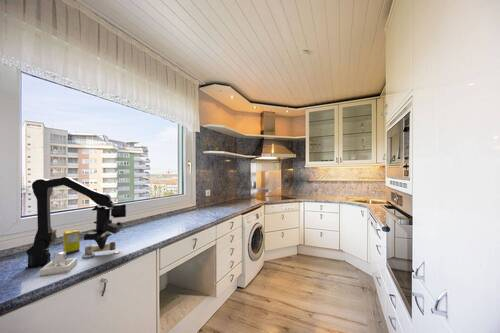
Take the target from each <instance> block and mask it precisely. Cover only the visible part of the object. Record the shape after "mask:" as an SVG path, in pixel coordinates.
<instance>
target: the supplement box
mask: <svg viewBox="0 0 500 333" xmlns="http://www.w3.org/2000/svg"><path fill="white" fill-rule="evenodd" d="M80 233H81V231H80V230H79V229H71V230H70V229H69V230H66V231H63V240H62V241H63V247H62V248H63V250H62V252H63V251H65V252H66V255H67V254H72V253H75V252H80Z"/></svg>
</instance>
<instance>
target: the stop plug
mask: <svg viewBox="0 0 500 333" xmlns="http://www.w3.org/2000/svg"><path fill="white" fill-rule="evenodd" d="M66 259H67V254H66V252H65V251H63V250H62V251H58V252H55V253H54V254H53V261H54V267H60V266H66Z"/></svg>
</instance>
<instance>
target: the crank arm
mask: <svg viewBox="0 0 500 333" xmlns="http://www.w3.org/2000/svg"><path fill="white" fill-rule="evenodd" d="M105 251H116V242H115V241H112V242H109V243H105V246H104V248H103V249H102V250H101V249H100V248H99V246H98V244H94V245H91V244H90V245H85V247H84V254H85V255H88V254H92V252H94V253H96V252H105Z"/></svg>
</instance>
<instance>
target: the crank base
mask: <svg viewBox="0 0 500 333" xmlns="http://www.w3.org/2000/svg"><path fill="white" fill-rule="evenodd" d="M95 253H96V252H92V254H88V255H85V253H83V254H82V255H81V256H82V257H81V258H82V259H88V258H92V257H94V256H95ZM119 253H120V250H114V253H113V254H114V255H116V254H119Z"/></svg>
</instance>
